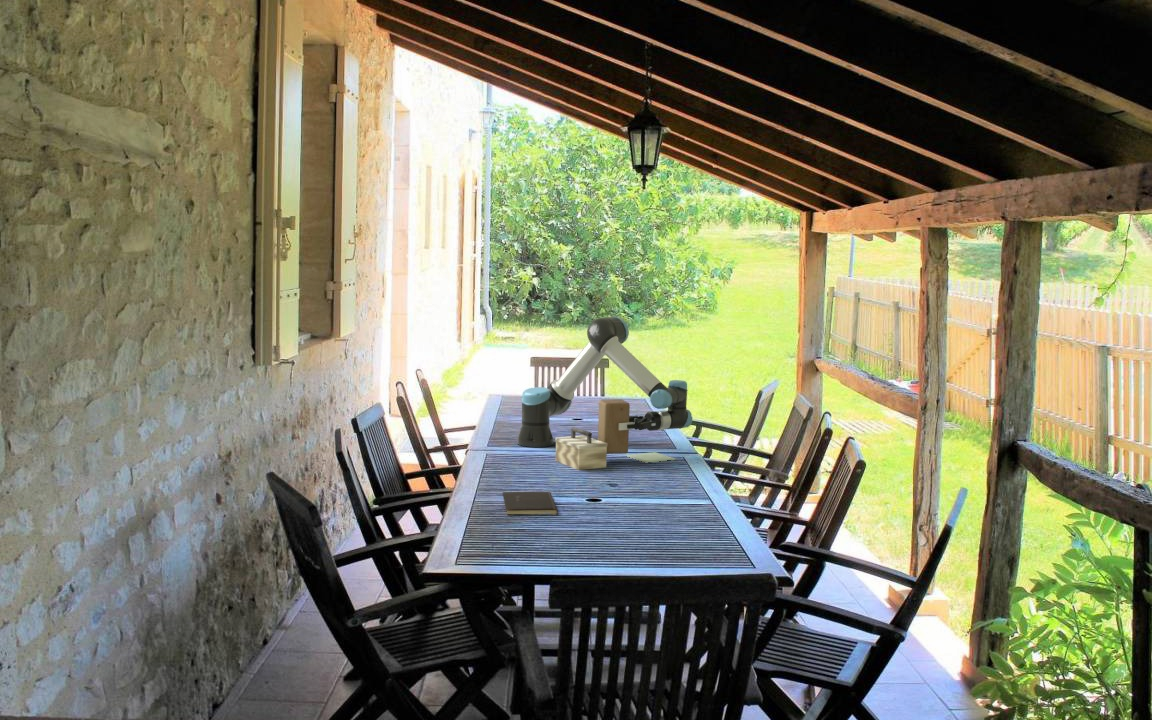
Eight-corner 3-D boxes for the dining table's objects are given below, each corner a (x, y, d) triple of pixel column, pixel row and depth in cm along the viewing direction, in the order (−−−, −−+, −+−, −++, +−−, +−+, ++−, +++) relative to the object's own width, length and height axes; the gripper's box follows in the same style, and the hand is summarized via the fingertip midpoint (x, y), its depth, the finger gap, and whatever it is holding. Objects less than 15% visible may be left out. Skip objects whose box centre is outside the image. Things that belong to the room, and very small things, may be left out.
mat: (626, 456, 403) (626, 455, 403) (654, 453, 410) (654, 452, 410) (645, 463, 391) (645, 461, 391) (675, 460, 398) (675, 458, 398)
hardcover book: (505, 516, 310) (505, 509, 309) (502, 498, 332) (502, 491, 332) (557, 516, 311) (557, 508, 311) (550, 498, 334) (550, 491, 334)
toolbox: (554, 460, 391) (555, 426, 390) (583, 458, 398) (584, 424, 396) (578, 470, 376) (579, 434, 374) (608, 467, 382) (609, 432, 381)
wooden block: (628, 454, 389) (630, 402, 386) (603, 454, 386) (605, 403, 384) (621, 448, 398) (622, 398, 396) (596, 449, 396) (598, 399, 393)
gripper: (674, 435, 391) (627, 439, 380) (639, 425, 412) (594, 428, 401) (674, 416, 390) (627, 419, 379) (640, 406, 411) (594, 409, 400)
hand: (610, 424), depth 390 cm, fingers closed on wooden block, 12 cm apart
